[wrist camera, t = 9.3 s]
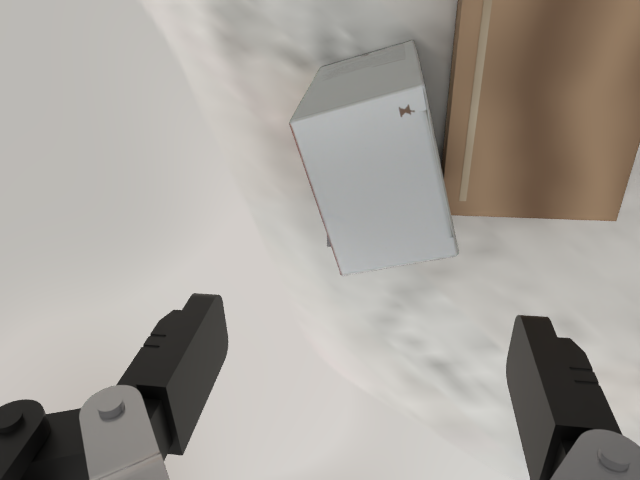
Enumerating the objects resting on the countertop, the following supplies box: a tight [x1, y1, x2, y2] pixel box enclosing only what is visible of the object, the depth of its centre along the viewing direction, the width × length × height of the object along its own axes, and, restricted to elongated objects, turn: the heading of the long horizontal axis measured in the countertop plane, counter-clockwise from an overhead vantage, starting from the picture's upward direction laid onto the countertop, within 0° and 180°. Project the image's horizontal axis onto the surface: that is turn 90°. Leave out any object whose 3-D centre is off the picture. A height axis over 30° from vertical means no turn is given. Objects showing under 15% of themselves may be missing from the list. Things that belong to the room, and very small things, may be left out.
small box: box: [289, 40, 459, 276], centre depth 26 cm, size 8×6×10 cm
